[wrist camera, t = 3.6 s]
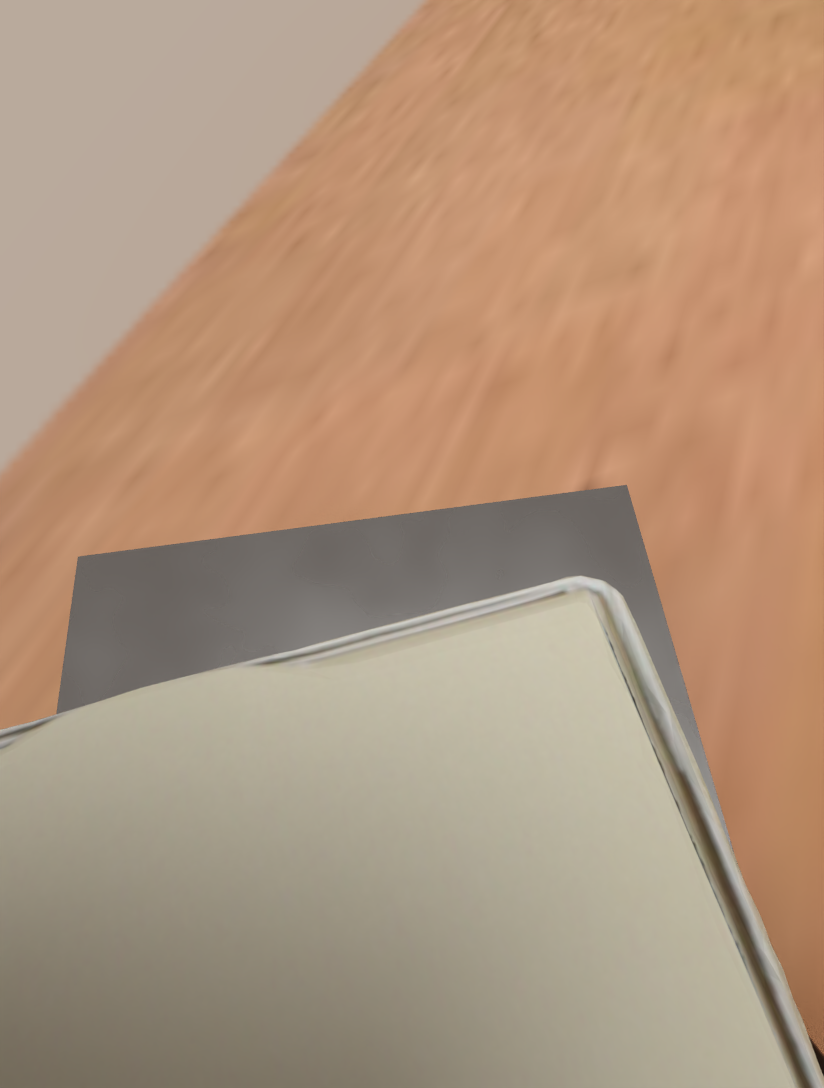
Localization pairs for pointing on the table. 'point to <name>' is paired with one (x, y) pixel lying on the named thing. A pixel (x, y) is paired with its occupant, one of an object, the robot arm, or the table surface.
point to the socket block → (350, 590)
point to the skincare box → (387, 873)
